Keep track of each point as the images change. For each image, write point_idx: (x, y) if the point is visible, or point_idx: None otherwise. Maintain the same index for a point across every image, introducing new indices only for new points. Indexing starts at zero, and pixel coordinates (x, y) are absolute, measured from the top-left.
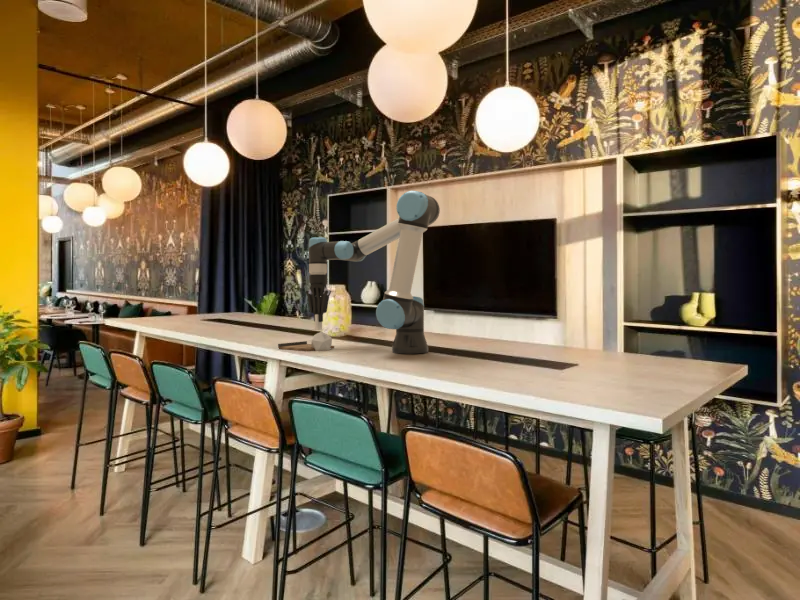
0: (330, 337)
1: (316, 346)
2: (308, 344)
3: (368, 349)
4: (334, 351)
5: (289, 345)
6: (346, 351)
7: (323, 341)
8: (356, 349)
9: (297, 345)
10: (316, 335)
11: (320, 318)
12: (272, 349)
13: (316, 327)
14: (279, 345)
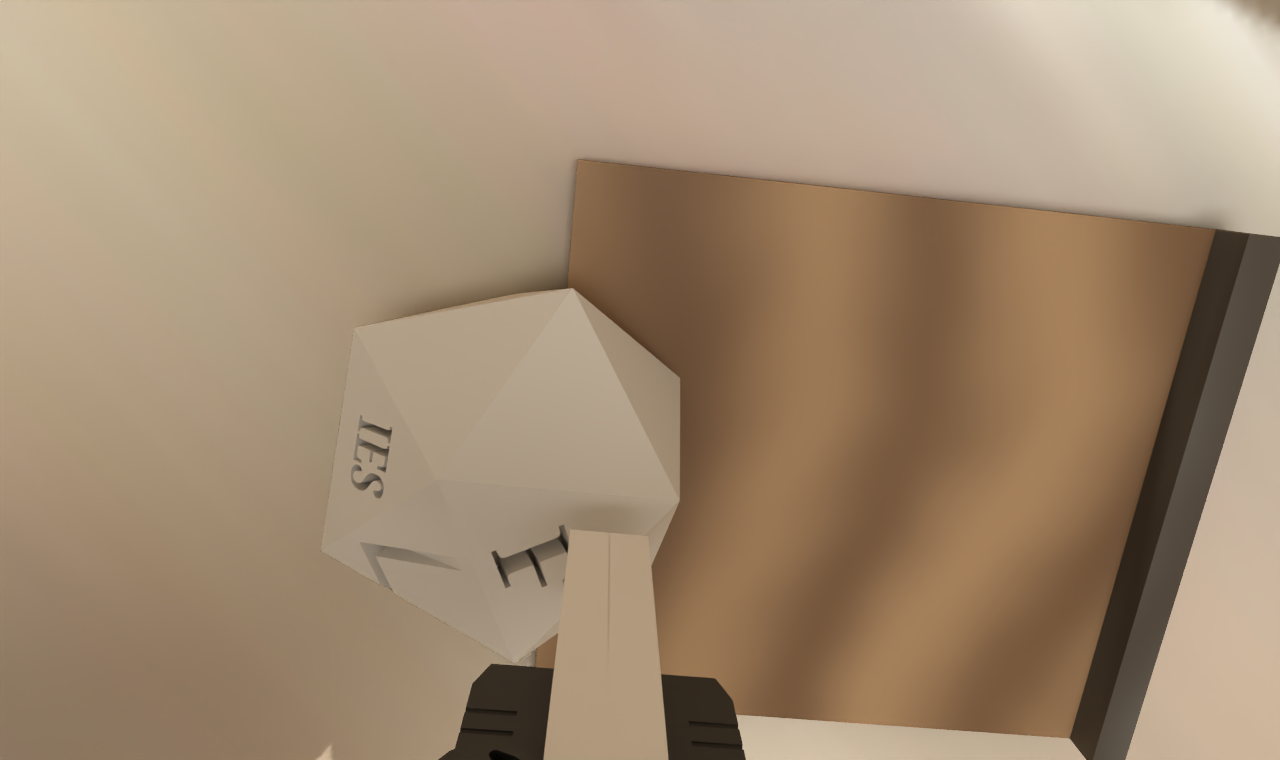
0: (331, 534)
1: (500, 298)
2: (1003, 693)
3: (9, 737)
4: (204, 329)
5: (1161, 427)
6: (55, 406)
7: (353, 345)
8: (145, 673)
9: (1068, 514)
10: (527, 399)
11: (465, 731)
12: (1276, 139)
13: (602, 559)
14: (1236, 232)
